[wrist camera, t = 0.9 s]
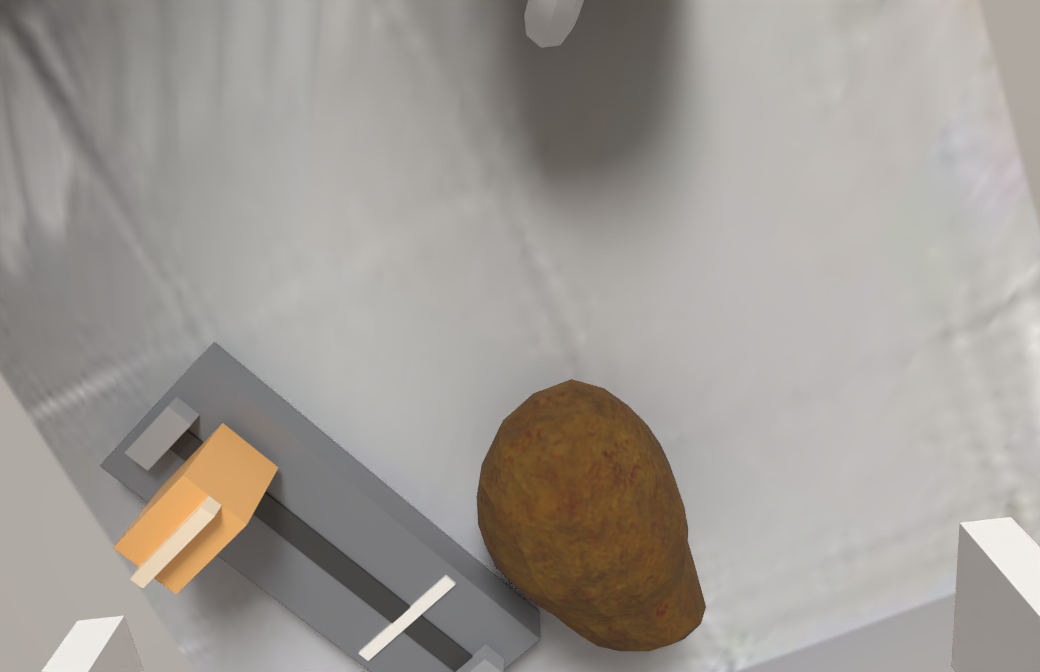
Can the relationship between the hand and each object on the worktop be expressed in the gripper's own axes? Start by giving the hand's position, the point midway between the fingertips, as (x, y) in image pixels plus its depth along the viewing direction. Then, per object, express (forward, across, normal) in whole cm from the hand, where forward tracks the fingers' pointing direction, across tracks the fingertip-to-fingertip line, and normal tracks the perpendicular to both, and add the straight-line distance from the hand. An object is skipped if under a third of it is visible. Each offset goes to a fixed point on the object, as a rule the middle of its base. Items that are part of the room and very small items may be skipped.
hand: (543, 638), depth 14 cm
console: (+24, -11, -12) cm, 29 cm away
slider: (+22, -14, -8) cm, 27 cm away
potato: (+24, +1, -11) cm, 27 cm away
